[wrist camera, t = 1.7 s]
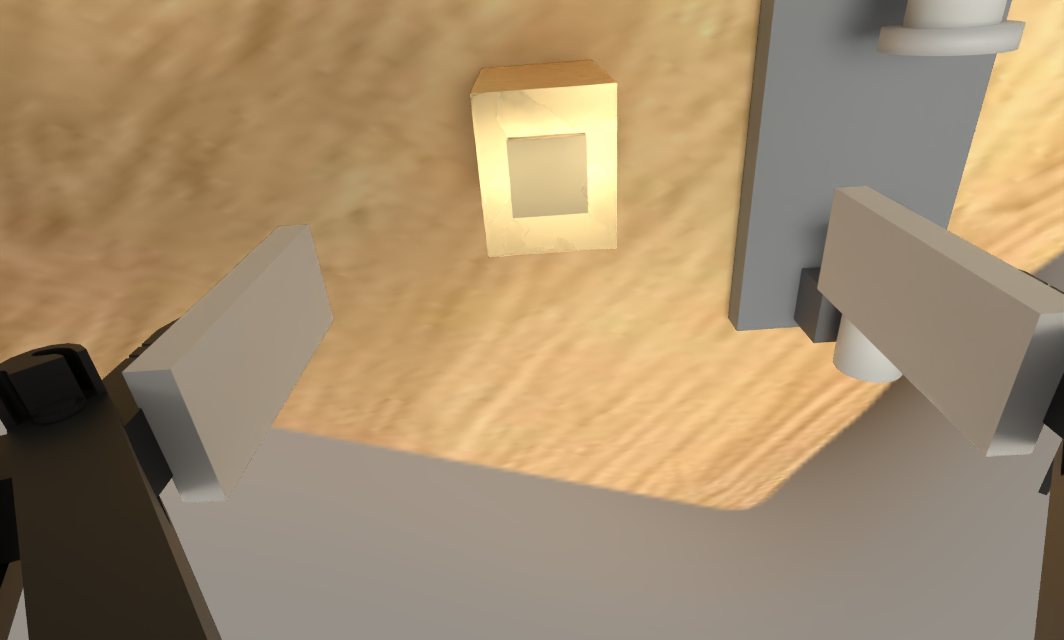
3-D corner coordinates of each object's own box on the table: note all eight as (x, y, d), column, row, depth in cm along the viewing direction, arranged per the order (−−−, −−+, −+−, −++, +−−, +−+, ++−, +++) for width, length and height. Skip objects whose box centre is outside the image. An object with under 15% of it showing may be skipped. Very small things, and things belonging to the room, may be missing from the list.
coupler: (495, 195, 30) (487, 260, 23) (482, 68, 27) (469, 95, 20) (593, 188, 30) (617, 250, 23) (591, 59, 27) (618, 84, 20)
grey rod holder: (728, 317, 34) (781, 398, 27) (773, -115, 24) (873, -157, 17) (905, 305, 34) (1003, 384, 27) (1022, -135, 24) (1220, -185, 17)
